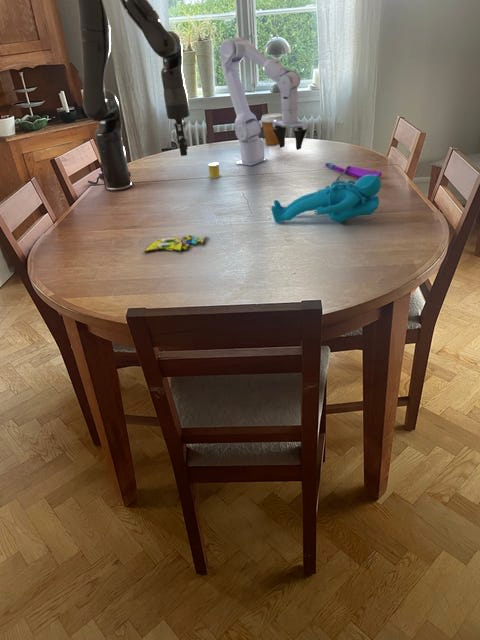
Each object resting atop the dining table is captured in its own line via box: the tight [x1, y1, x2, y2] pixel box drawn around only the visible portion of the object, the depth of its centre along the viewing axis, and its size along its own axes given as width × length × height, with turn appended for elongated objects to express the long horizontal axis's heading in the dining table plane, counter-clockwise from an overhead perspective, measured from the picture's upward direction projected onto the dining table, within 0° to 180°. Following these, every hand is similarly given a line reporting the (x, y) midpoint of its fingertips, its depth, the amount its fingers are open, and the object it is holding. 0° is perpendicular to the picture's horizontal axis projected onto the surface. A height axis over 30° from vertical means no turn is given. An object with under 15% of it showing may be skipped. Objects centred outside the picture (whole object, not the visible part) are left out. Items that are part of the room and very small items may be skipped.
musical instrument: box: [324, 162, 382, 185], centre depth 168 cm, size 24×2×20 cm
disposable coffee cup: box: [260, 112, 282, 146], centre depth 214 cm, size 10×10×12 cm
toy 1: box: [144, 234, 207, 254], centre depth 130 cm, size 10×1×15 cm
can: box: [208, 162, 221, 179], centre depth 180 cm, size 4×4×5 cm
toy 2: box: [270, 175, 382, 224], centre depth 134 cm, size 17×11×30 cm
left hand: (184, 152), depth 166 cm, fingers open, 8 cm apart
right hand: (290, 148), depth 181 cm, fingers open, 7 cm apart
